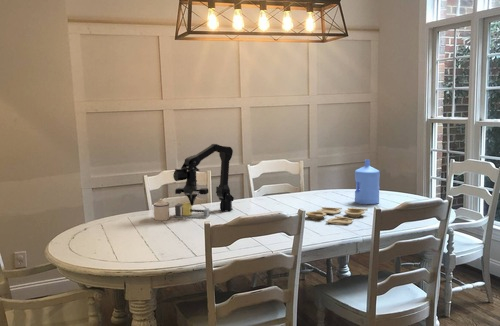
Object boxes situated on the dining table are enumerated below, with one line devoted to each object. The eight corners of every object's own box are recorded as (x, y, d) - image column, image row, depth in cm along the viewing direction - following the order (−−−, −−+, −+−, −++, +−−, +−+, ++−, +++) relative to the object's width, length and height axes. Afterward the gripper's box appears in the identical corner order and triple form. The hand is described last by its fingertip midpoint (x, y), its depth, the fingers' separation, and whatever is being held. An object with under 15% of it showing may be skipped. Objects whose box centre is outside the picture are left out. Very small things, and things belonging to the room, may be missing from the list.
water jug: (382, 201, 307) (383, 159, 304) (374, 205, 294) (375, 161, 291) (359, 199, 316) (359, 158, 312) (351, 203, 303) (351, 160, 299)
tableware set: (325, 208, 290) (325, 202, 289) (370, 214, 273) (370, 207, 272) (297, 220, 261) (297, 213, 261) (345, 227, 244) (345, 220, 244)
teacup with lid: (172, 219, 269) (171, 199, 267) (158, 221, 263) (157, 201, 262) (163, 215, 278) (162, 196, 277) (149, 217, 273) (148, 198, 271)
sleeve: (192, 213, 277) (191, 202, 276) (189, 215, 272) (189, 203, 271) (185, 213, 277) (185, 202, 277) (183, 215, 273) (182, 203, 272)
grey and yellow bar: (210, 215, 276) (209, 203, 275) (206, 218, 268) (205, 206, 268) (179, 214, 280) (179, 202, 279) (174, 217, 272) (174, 205, 271)
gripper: (171, 181, 265) (172, 208, 267) (202, 181, 262) (203, 208, 264) (178, 178, 276) (178, 204, 278) (208, 178, 273) (209, 204, 275)
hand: (192, 205), depth 273 cm, fingers closed
